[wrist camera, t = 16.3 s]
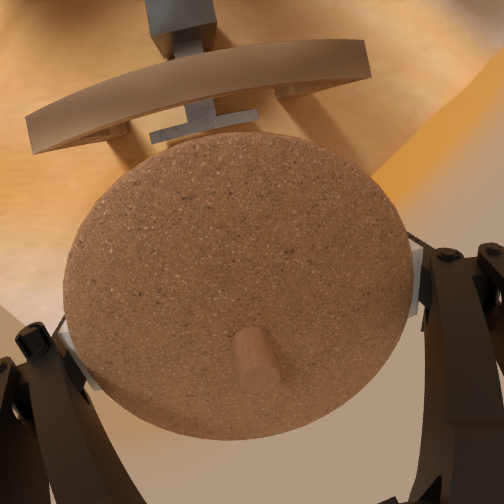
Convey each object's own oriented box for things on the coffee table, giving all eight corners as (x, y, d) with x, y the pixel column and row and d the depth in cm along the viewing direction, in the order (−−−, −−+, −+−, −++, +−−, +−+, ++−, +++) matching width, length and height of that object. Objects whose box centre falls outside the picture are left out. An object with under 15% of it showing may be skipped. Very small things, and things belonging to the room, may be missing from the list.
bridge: (101, 118, 27) (25, 116, 13) (295, 74, 28) (363, 39, 14) (106, 141, 28) (33, 154, 14) (299, 96, 29) (371, 77, 15)
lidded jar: (365, 200, 16) (497, 277, 7) (264, 351, 18) (303, 485, 10) (182, 93, 12) (143, 27, 4) (96, 283, 15) (27, 417, 7)
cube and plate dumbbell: (139, 31, 23) (119, 4, 16) (226, 12, 24) (233, -21, 16) (161, 141, 28) (145, 146, 21) (249, 121, 29) (264, 119, 21)
